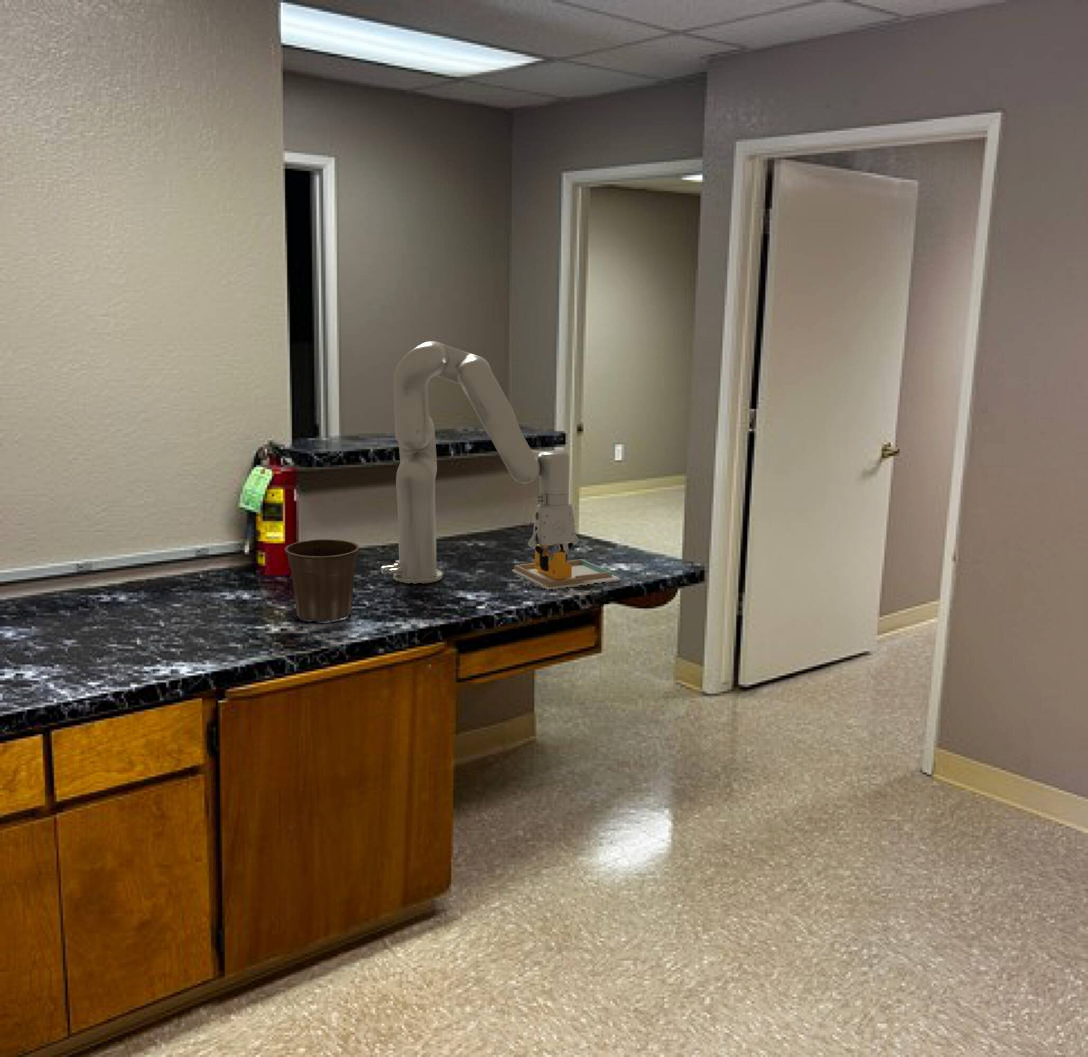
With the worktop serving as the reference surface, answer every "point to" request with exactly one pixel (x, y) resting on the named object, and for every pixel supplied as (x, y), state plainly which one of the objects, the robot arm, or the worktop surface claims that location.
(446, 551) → the worktop surface
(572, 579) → the shallow rimmed tray
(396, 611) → the worktop surface
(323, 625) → the worktop surface
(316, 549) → the plant pot
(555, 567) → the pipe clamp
